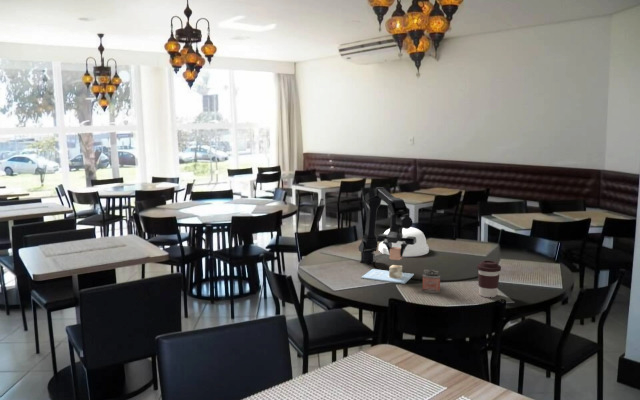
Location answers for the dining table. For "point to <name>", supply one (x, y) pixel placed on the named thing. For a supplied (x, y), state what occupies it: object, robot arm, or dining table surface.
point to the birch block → (395, 271)
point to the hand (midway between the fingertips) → (396, 256)
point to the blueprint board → (386, 276)
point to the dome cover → (410, 250)
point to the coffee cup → (488, 278)
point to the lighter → (431, 281)
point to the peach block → (395, 253)
